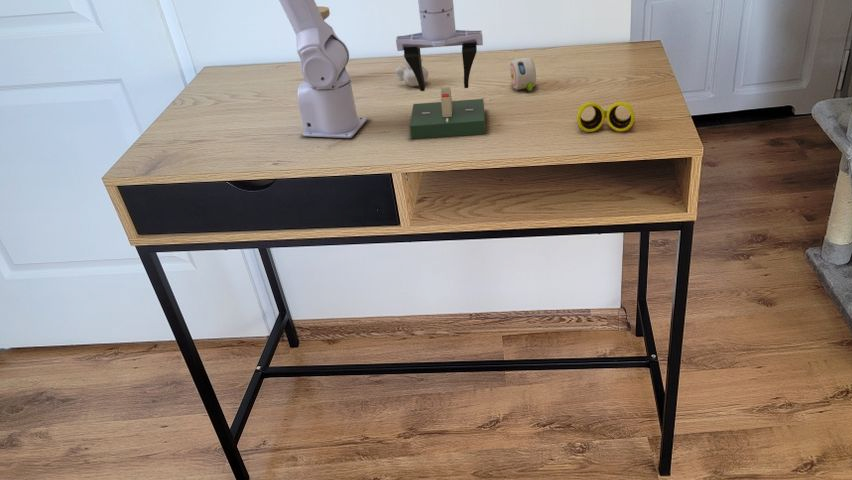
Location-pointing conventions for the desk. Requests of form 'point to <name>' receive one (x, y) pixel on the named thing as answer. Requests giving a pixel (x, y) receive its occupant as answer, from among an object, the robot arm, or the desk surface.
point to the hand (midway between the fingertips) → (444, 87)
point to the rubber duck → (409, 74)
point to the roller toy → (523, 73)
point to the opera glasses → (602, 114)
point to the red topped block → (446, 102)
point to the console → (448, 119)
